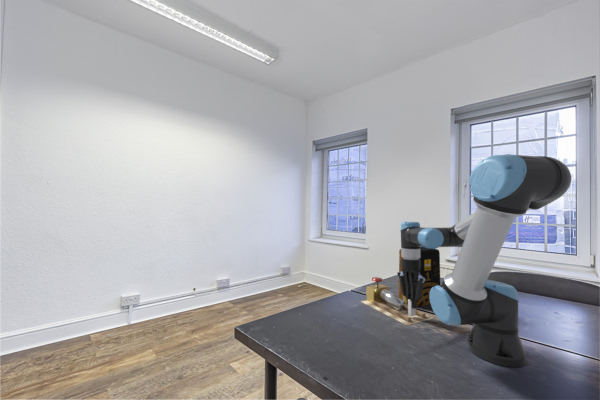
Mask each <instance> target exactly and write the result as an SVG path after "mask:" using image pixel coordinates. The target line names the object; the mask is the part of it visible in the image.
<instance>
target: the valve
mask: <svg viewBox="0 0 600 400" xmlns="http://www.w3.org/2000/svg"><path fill="white" fill-rule="evenodd" d="M371 281H373V282H375V284H372V285H366V290H365V296H366V300H367V301H369V302H371V303H372V301H378V302H380V303H381V302H385V301H384V300H382V299H381V298H380V293H381V292H382V290H384V289H387V290H388V291H389V286H387V285H385V284H382V283H381V282H383V278H382V277H378V276H377V277H376V276H374V277H372V278H371Z"/></svg>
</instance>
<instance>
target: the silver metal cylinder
mask: <svg viewBox="0 0 600 400" xmlns="http://www.w3.org/2000/svg"><path fill="white" fill-rule="evenodd" d="M380 298H381V299H382V300H384V301H385V302H387V303H388V304H389V305H391V306H392V307H393V308H395V309H396V310H398V311H401V310H402V309H403V308H404V306H405V305H406V304H405V302H404V301H403V300H402V299H400V298H399V296H397V295H396V294H394V293H392V292H391V291H389V289H388V290H387V289H384V290H382V292H381V293H380Z"/></svg>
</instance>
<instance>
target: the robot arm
mask: <svg viewBox="0 0 600 400" xmlns="http://www.w3.org/2000/svg"><path fill="white" fill-rule="evenodd" d="M468 181H469V182H468V184H469V186H470V188H469V190H470V192H471V194H472V196H473V199H472V201H473V203H474V204H475V205H476V209H475V210H474V212H472V213H471V214H470V215H468V216H467V217H465V218H463V219H462V220H460V221H459V222H457V223H456V224H454V225H452V226H451V227H422V226H421V224H420V222H418V221H402V222H401V223H400V249H401V257H403V258H402V259H401V266H402V267H403V268H402V271H401V272H399V271H397V273H396V274H397V277H398V281H399V280H400V285H401V290H402V295H403V296H405V297H406V298H407V304H406V305H407V306H408V315H409V316H415V315H416V310H417V308H418V307H417V300H421V297H422V292H423V287H424V283H425V281H426V278H423V277H422V276H421V272H420V268H421V260H420V259H419V258H421V257H420V247H426V248H432V249H438V248H460V250H459V251H460V252H459V254H458V256H457V259H456V261H455V264H454V267H453V269H452V272H451V273H448V274H445V275H444V277H443V280H442V282H441V284H440V286H435V287H432V288H431V290H430V303H431V304H430V306H431V308H432V311H433V313H434V315H435V316H436V318H437V319H438V320H439V321H440V322H441V323H443V324H445V325H447V326H455V327H457V326H467V325H472V328H471V330H470V332H469V335H468V337H467V348H468V349H469V351H470V352H471V353H472V354H474V355H475V356H477V357H478V358H480V359H483V360H485V361H487V362H489V363H492V364H496V365H498V366H503V367H509V368H521V367H524V366H526V364H527V353H526V351H525V348H524V346H523V342H522V341H521V338H520V335H519V301H520V300H519V299H518V297H519V295H518V290H517V289H516V287H514V286H513V285H510V284H508V283H505V282H501V281H497V280H493V279H489V276H490V275H491V273H492V270H493V267H494V266H495V263H496V262H497V258H498V257H499V254H500V252H501V251H502V248H503V246H504V244H505V242H506V239H507V237H508V235H509V233H510V231H511V228H512V226H513V224H514V222H515V219H516V218H518V217H520V216H524V215H526V213H527V211H530V210H531V211H536V210H539V209H541V208H543V207H545V206H548V205H550V204H551V203H553V202H555V201H557V200H558V199H560V198H561V197H562V196H564V195H565V193H567V191H568V190H569V188H570V186H571V183H572V174H571V170H570V168H569V167H568V166H567V165H566V163H564V162H563V161H561V160H559V159H557V158H554V157H551V156H546V155H545V156H541V155H539V156H538V155H537V156H536V155H520V154H519V155H518V154H509V153H508V154H495V155H491V156H488V157H486V158H484V159H482V160H480V162H478V163H477V165H475V166H474V168H473V170H472V171H471V173H470V176H469V180H468ZM418 278H419V279H418Z"/></svg>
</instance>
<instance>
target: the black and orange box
mask: <svg viewBox="0 0 600 400" xmlns="http://www.w3.org/2000/svg"><path fill="white" fill-rule="evenodd" d="M398 252H399V253H398V255H399V257H398V258H399V259H398V260H399V261H398V272H401V271H402V268H403V267H402V266H401V259H402V258H403V257H401V248H400V249H399V251H398ZM440 253H441V252H440V250H439V249H438V248H436V249H432V248H426V247H421V246H420V257H421V258H419V259H420V260H421V268H420V272H421V276H422V277H423V278H426V281H425V283H424V287H423V292H422V297H421V300H417V308H418V307H424V306H431V303H430V290H431V288H432V287H435V286H441V257H440V256H441V255H440ZM418 279H419V278H418ZM398 297H399V298H400V299H402V300H403V301H404V302H405V305H407V298H406V297H405V296H403V295H402V290H401V285H400V280H399V279H398Z"/></svg>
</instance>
